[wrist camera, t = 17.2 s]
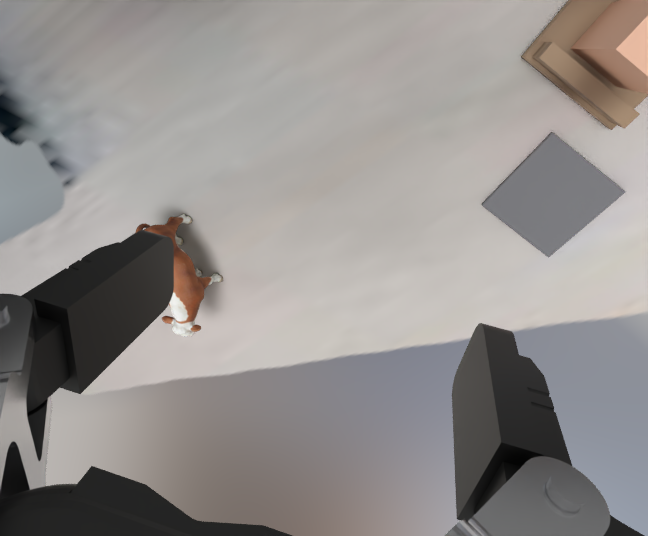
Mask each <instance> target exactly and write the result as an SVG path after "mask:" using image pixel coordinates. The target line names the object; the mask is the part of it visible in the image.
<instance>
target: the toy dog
mask: <svg viewBox="0 0 648 536" xmlns="http://www.w3.org/2000/svg"><path fill="white" fill-rule="evenodd" d="M181 223H186V224H190V223H192V219H191V217H189V216H185V214H182V215H181V216H178V217H170V218H169V220H168V222H167V224H165V225H153V226H149V225H148V224H141V225H139V226H138V227H137V229H136V232H138V231H140V230H143V228H146V229H145V231H149V232H152V233H156V234H160V235H163V236H167V237H170V238H171V239H172V241H173V245H174V290H173V295H172V298H171V301H170V303H169V305H170V308H171V312H172V314H173V316H174V318H173V317H169V316H164V317H162V320H163V321H164V322H165V323H169V324H172V325H173V326H172V331H173V332H174V333H176V334H178V335H182V336H184V337H187V336H192V335H193V334H194V333H195V332H197V331H199V330H200V329H201V326H199V325H195V318H196V316H197V313H198V310H199V306H200V303H201V301H202V300H203V298H204V289H205V288H206V287H207V286H208V285H211V284H212V282H216V281H217V282H222V281H223V277H222V276H221V275H218V274H215V273H214V274H213V275H212V276H211V277H204V278H200V277H201V276H202V272H201V271H199V270H198V269H195V268H194V265H193V262H192V260H191V259H190V257H189V256H188V255H187V254H186V253H185V252H184V251H183V250H181V249H180V248H179V247H178V245H183V240H182V239H181V238H178V237H177V234H176V231H177V229H178V226H179V225H180V224H181ZM177 244H178V245H177ZM197 276H198V277H197Z"/></svg>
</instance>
